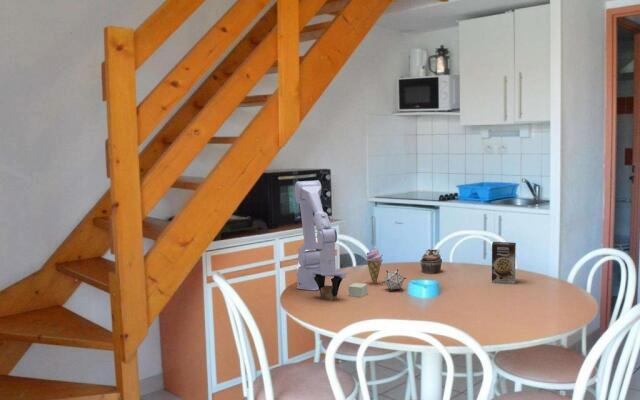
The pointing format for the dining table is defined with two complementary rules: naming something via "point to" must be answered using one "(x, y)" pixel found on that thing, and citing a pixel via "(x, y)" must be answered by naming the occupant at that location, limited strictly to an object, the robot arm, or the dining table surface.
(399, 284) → the game die
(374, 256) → the ice cream cone
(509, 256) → the coffee box
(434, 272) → the cupcake
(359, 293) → the base block
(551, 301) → the dining table surface
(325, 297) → the walnut cube
